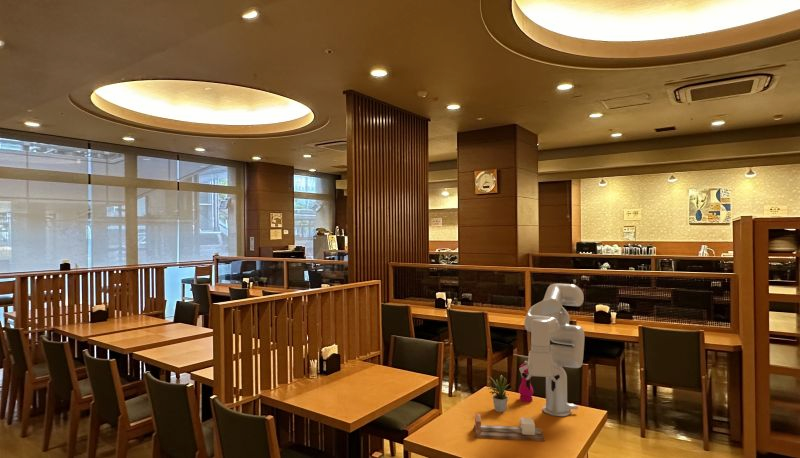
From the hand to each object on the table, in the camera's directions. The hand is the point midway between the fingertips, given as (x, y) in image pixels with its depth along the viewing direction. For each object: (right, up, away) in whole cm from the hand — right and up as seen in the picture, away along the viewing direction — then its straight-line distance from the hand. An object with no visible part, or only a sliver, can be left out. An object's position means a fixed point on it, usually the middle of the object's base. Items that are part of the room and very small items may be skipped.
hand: (540, 389), depth 190 cm
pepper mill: (+5, -20, +41) cm, 46 cm away
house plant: (-11, -20, +29) cm, 37 cm away
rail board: (-13, -19, +1) cm, 24 cm away
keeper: (-5, -18, 0) cm, 19 cm away
